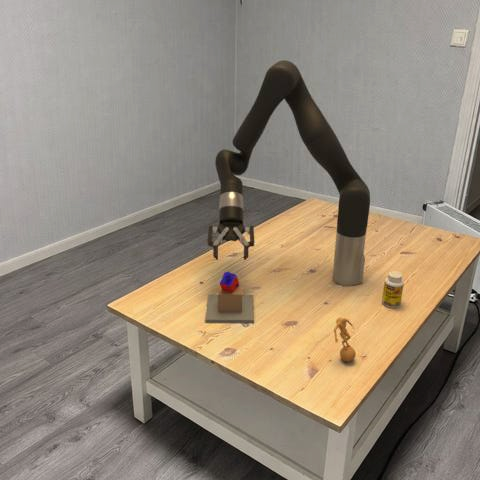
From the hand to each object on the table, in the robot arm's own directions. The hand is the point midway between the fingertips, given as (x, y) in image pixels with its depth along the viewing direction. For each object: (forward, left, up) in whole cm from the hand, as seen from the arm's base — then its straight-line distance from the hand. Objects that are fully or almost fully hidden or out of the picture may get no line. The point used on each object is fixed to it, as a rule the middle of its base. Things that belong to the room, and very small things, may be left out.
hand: (230, 259), depth 160 cm
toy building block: (0, +7, -6) cm, 10 cm away
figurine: (-30, +30, -13) cm, 45 cm away
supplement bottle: (-49, +3, -13) cm, 51 cm away
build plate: (0, +7, -13) cm, 15 cm away
